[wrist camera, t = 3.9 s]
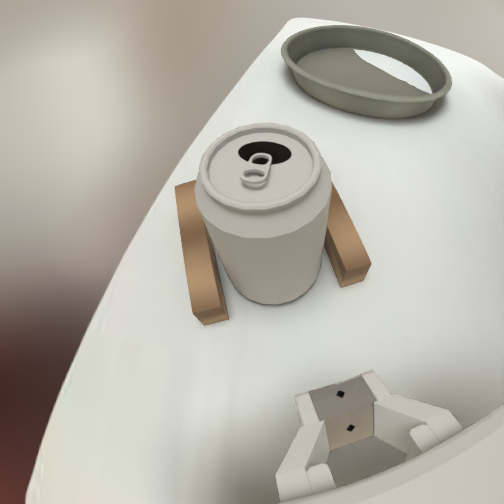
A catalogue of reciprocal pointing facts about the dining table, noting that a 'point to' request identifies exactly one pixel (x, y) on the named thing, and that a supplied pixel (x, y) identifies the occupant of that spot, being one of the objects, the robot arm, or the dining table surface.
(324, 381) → the dining table surface
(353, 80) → the cake pan
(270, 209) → the can
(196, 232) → the parallel wooden bars
